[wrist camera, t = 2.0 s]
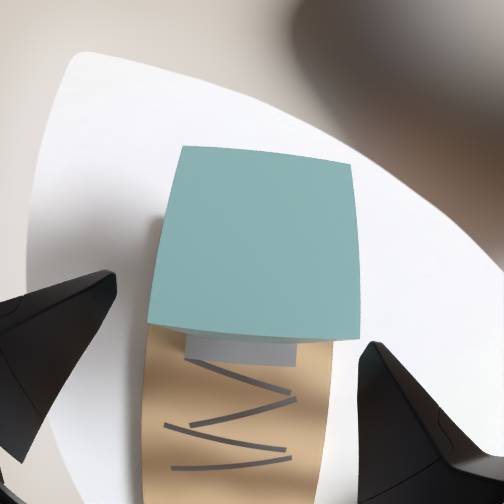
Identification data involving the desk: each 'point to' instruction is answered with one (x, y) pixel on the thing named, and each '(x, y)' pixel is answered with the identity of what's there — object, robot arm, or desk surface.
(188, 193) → the block
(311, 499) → the oak board
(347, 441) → the desk surface
